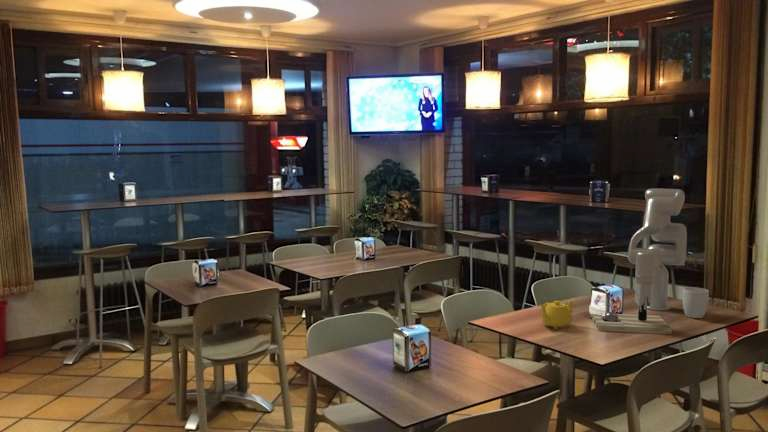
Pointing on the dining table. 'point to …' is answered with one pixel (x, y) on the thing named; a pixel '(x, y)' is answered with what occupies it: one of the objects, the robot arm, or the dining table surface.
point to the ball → (611, 317)
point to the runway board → (632, 324)
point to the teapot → (557, 314)
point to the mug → (695, 301)
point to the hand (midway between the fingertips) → (642, 320)
